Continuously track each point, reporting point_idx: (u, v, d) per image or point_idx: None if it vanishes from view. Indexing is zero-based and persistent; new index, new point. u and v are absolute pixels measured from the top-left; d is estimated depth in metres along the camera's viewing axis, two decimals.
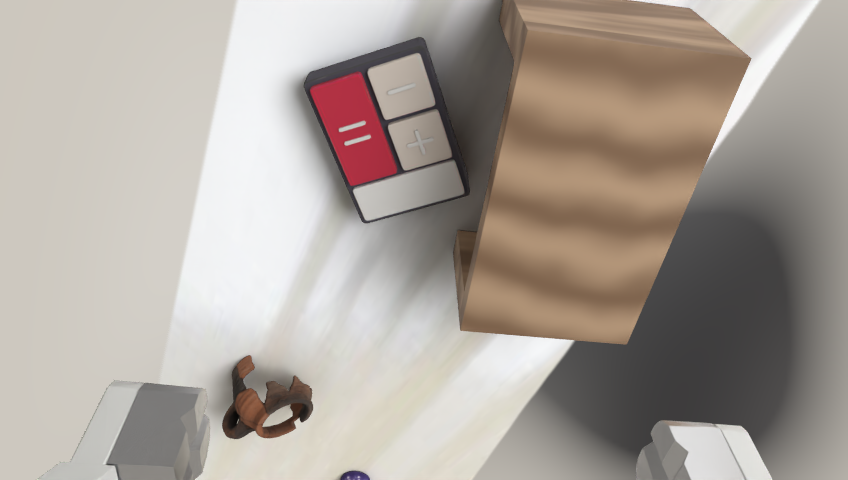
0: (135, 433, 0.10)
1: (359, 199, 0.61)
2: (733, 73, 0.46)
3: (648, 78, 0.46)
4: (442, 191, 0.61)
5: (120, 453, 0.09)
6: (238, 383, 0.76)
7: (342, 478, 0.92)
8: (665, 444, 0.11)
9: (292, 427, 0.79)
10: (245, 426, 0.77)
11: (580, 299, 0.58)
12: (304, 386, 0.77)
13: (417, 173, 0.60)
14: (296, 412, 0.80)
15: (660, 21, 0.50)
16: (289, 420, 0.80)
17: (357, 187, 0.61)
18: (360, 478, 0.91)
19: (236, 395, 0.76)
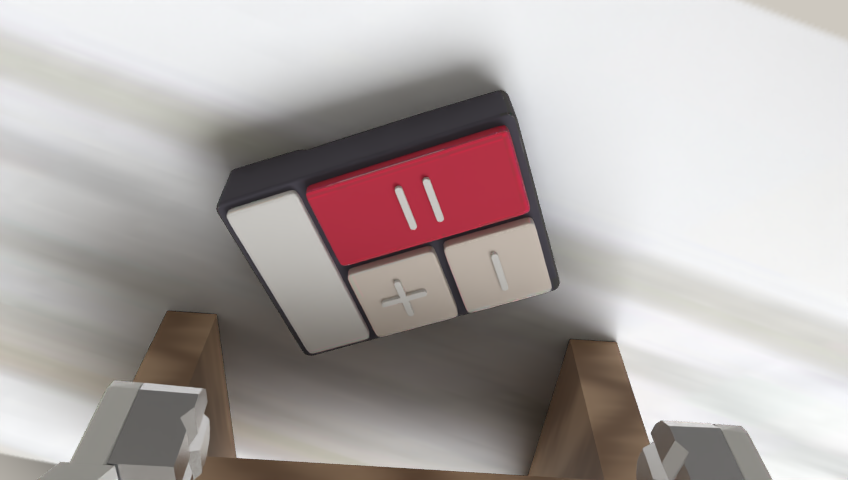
0: (135, 433, 0.10)
1: (273, 205, 0.31)
2: None
3: None
4: (310, 326, 0.35)
5: (120, 453, 0.09)
6: None
7: None
8: (665, 444, 0.11)
9: None
10: None
11: None
12: None
13: (342, 292, 0.34)
14: None
15: None
16: None
17: (300, 199, 0.31)
18: None
19: None
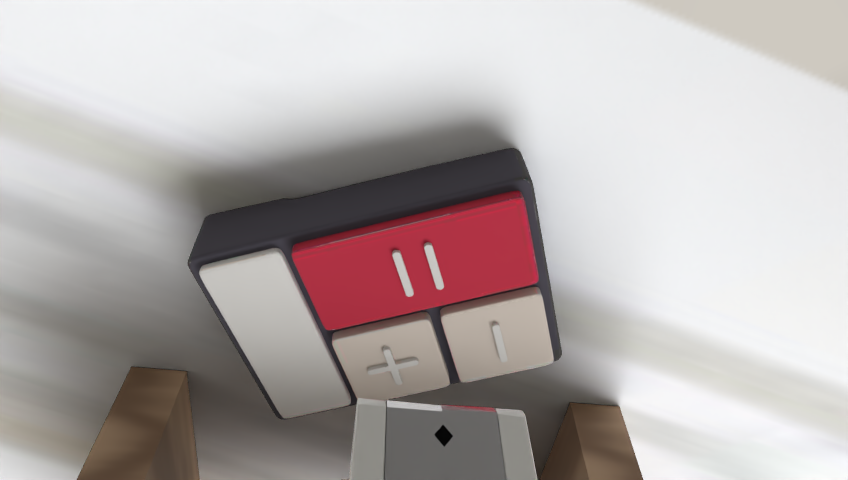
0: (399, 450, 0.10)
1: (253, 263, 0.27)
2: None
3: None
4: (286, 390, 0.32)
5: (393, 470, 0.10)
6: None
7: None
8: None
9: None
10: None
11: None
12: None
13: (324, 357, 0.30)
14: None
15: None
16: None
17: (284, 258, 0.27)
18: None
19: None
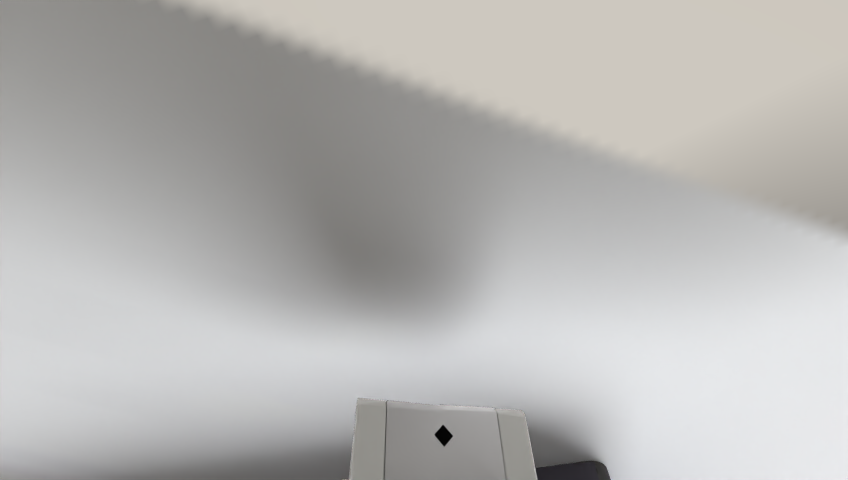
0: (399, 450, 0.10)
1: None
2: None
3: None
4: None
5: (393, 470, 0.10)
6: None
7: None
8: None
9: None
10: None
11: None
12: None
13: None
14: None
15: None
16: None
17: None
18: None
19: None
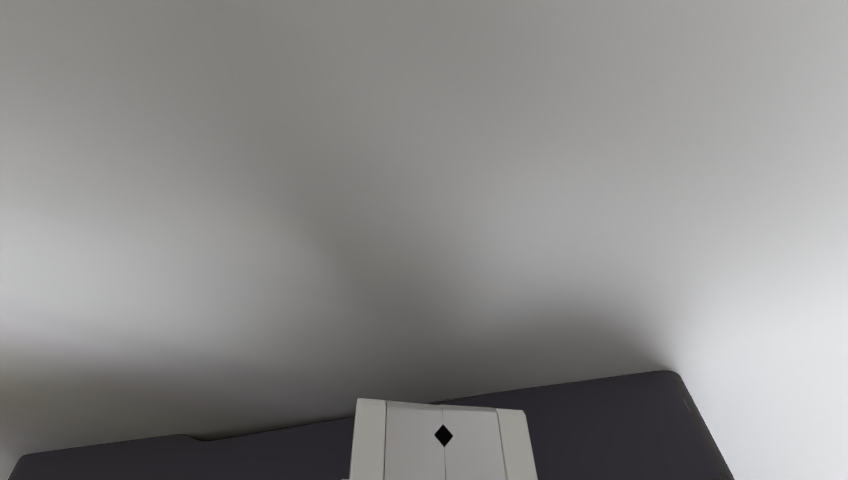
0: (399, 450, 0.10)
1: None
2: None
3: None
4: None
5: (392, 470, 0.10)
6: None
7: None
8: None
9: None
10: None
11: None
12: None
13: None
14: None
15: None
16: None
17: None
18: None
19: None
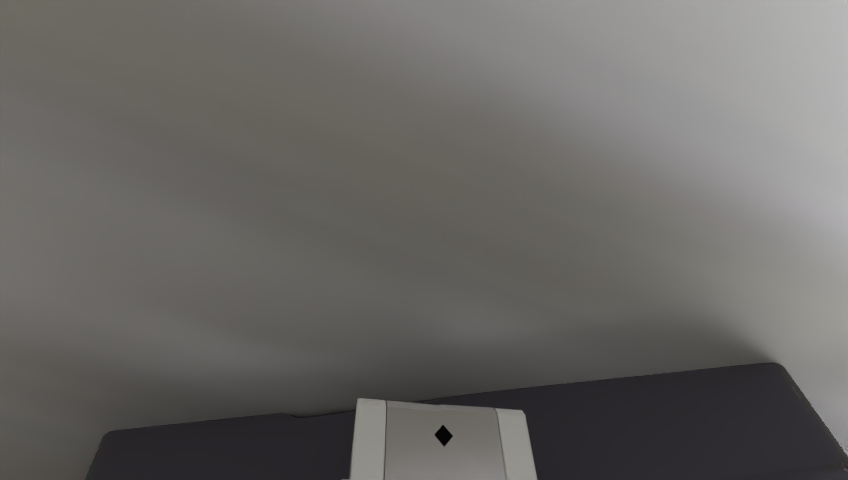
0: (399, 450, 0.10)
1: None
2: None
3: None
4: None
5: (393, 470, 0.10)
6: None
7: None
8: None
9: None
10: None
11: None
12: None
13: None
14: None
15: None
16: None
17: None
18: None
19: None
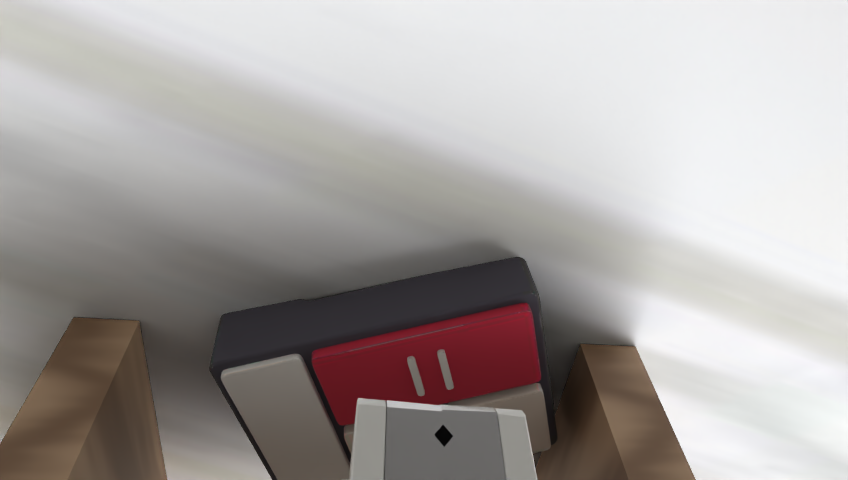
0: (399, 450, 0.10)
1: (274, 368, 0.28)
2: None
3: None
4: (296, 477, 0.33)
5: (393, 470, 0.10)
6: None
7: None
8: None
9: None
10: None
11: None
12: None
13: (335, 448, 0.32)
14: None
15: None
16: None
17: (303, 363, 0.29)
18: None
19: None
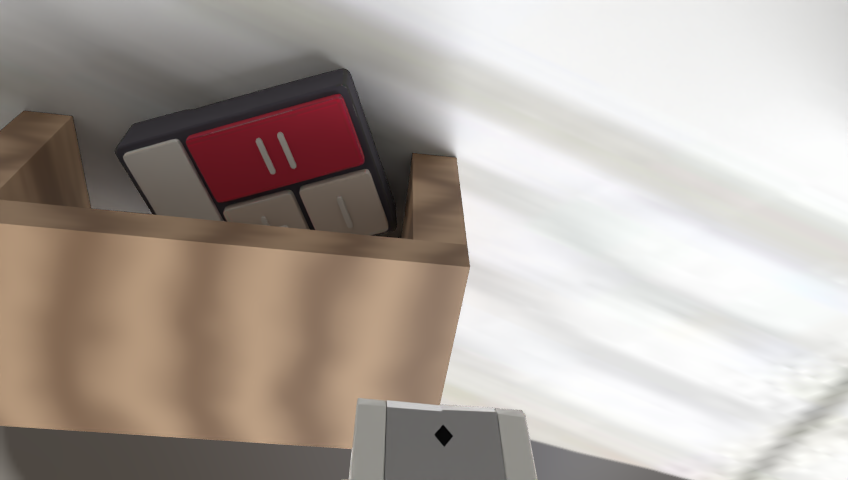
0: (399, 450, 0.10)
1: (160, 149, 0.39)
2: None
3: (406, 383, 0.39)
4: None
5: (393, 470, 0.10)
6: None
7: None
8: None
9: None
10: None
11: (53, 366, 0.38)
12: None
13: None
14: None
15: None
16: None
17: (181, 146, 0.39)
18: None
19: None
